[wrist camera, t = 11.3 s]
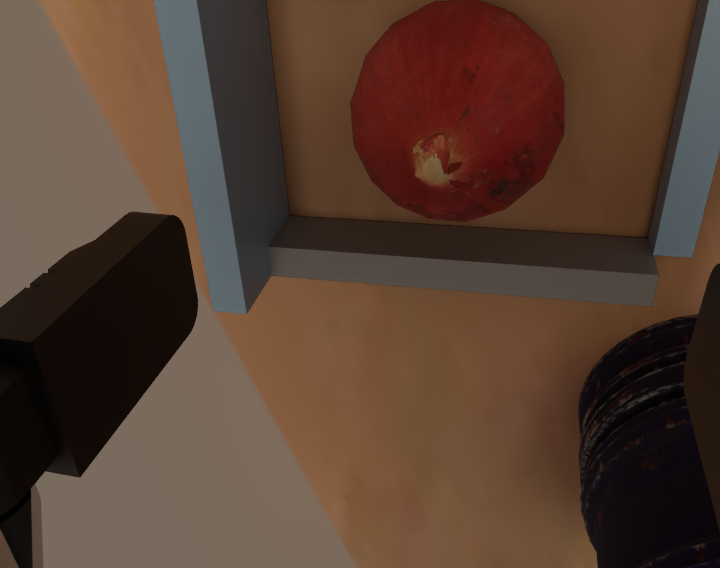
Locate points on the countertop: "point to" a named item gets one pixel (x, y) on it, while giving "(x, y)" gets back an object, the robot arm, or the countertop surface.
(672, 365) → the storage jar
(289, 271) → the channel organiser
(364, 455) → the countertop surface
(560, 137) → the pomegranate
